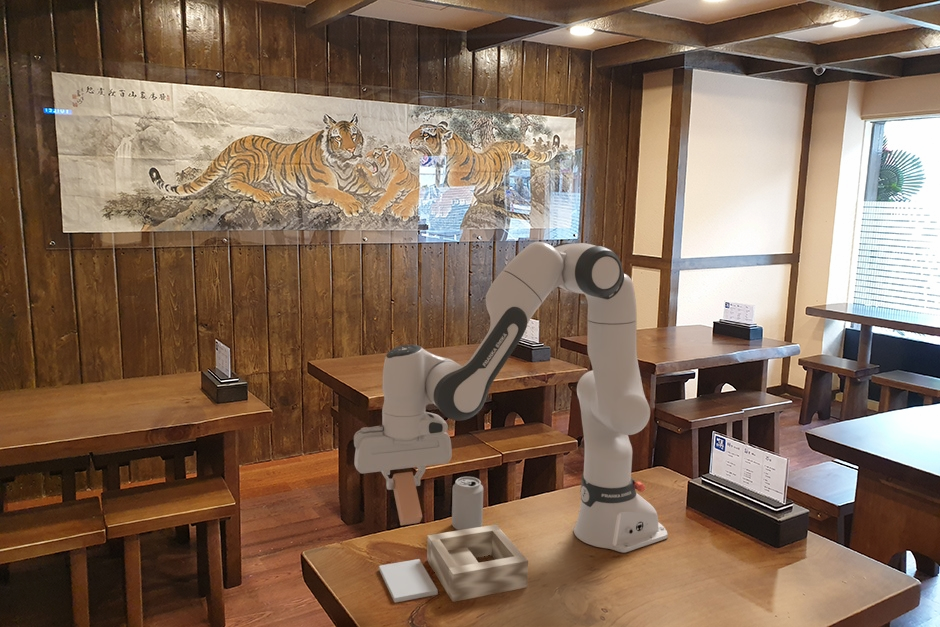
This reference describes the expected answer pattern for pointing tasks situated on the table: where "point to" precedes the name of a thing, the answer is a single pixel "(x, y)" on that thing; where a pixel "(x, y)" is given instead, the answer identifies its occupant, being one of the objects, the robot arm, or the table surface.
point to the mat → (407, 580)
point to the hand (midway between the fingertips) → (403, 486)
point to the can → (467, 503)
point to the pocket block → (476, 562)
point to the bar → (407, 498)
